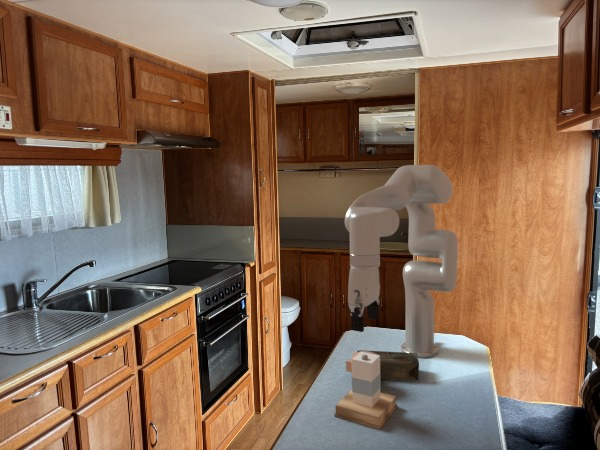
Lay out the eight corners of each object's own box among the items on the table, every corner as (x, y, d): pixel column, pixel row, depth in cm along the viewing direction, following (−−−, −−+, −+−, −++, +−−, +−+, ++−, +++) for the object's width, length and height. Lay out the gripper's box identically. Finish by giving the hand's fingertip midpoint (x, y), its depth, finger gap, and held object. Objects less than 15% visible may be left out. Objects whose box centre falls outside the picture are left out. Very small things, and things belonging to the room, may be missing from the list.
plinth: (354, 395, 134) (354, 385, 134) (397, 406, 127) (397, 395, 127) (334, 416, 123) (334, 405, 123) (379, 429, 117) (379, 418, 116)
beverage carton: (419, 382, 141) (420, 361, 140) (355, 379, 144) (355, 359, 143) (417, 370, 149) (417, 350, 148) (356, 368, 152) (355, 348, 151)
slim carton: (361, 393, 129) (360, 348, 127) (380, 398, 126) (380, 352, 124) (352, 402, 124) (351, 356, 122) (372, 407, 121) (371, 360, 119)
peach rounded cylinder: (352, 375, 146) (352, 348, 145) (383, 383, 141) (383, 354, 139) (340, 386, 139) (340, 357, 138) (372, 394, 134) (372, 364, 133)
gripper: (365, 252, 129) (365, 312, 131) (335, 265, 114) (337, 333, 117) (391, 254, 125) (391, 316, 127) (364, 268, 110) (365, 338, 113)
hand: (365, 324), depth 122 cm, fingers open, 9 cm apart
